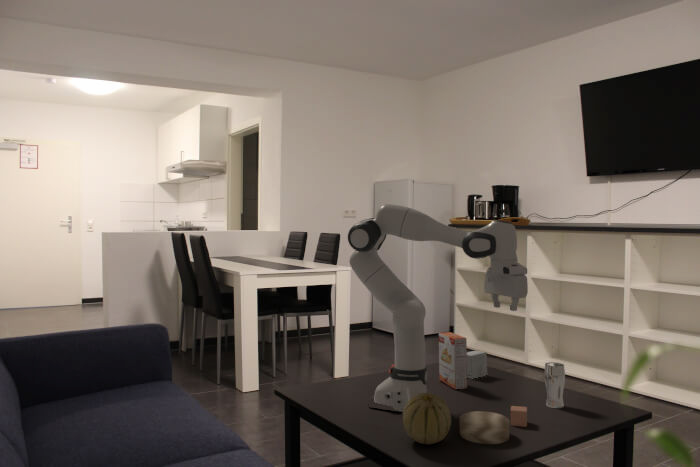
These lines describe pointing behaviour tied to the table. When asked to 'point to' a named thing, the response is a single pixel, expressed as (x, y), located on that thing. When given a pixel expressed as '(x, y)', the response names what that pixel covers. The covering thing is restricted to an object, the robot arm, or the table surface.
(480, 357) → the skincare box
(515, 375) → the table surface
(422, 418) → the cantaloupe
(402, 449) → the table surface
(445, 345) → the cracker box
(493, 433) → the birch pedestal
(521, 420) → the terracotta cube
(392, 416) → the table surface
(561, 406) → the beer glass
